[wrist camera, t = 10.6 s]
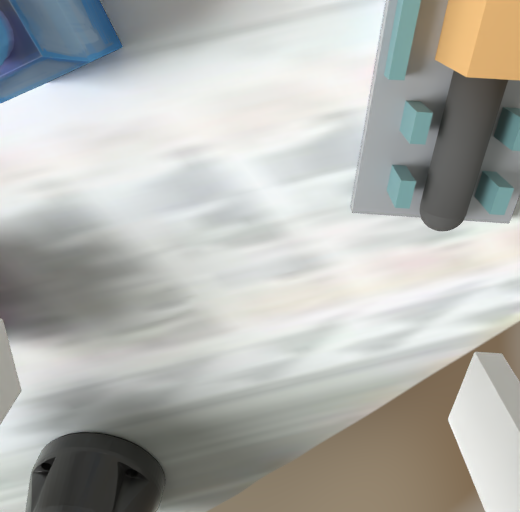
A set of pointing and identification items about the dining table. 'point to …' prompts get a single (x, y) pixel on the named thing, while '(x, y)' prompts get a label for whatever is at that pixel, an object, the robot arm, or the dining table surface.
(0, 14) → the perfume bottle
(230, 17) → the dining table surface
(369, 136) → the teal block plate
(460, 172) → the orange cube-head hammer
